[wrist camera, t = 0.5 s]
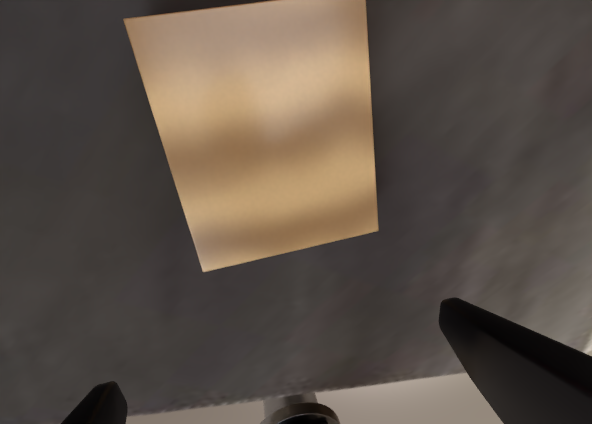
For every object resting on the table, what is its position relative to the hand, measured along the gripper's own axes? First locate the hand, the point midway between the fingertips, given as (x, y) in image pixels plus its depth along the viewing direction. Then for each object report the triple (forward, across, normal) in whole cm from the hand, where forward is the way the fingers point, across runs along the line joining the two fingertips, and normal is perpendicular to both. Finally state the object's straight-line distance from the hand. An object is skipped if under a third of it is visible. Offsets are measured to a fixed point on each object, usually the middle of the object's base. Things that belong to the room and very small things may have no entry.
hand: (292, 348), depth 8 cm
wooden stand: (+14, -2, -3) cm, 15 cm away
